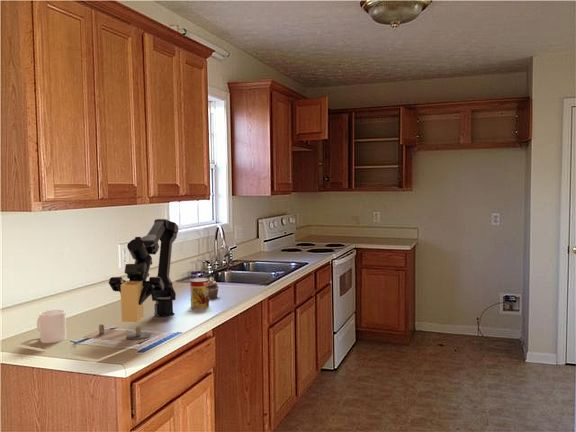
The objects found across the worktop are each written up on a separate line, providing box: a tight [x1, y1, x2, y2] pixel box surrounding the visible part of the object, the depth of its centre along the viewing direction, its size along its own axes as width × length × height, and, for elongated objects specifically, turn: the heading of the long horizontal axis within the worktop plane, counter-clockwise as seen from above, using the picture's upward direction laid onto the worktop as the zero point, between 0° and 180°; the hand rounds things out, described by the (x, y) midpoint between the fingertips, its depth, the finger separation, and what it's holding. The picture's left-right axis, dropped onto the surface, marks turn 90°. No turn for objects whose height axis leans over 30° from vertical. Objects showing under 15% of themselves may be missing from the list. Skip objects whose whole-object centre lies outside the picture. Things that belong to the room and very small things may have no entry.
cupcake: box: [202, 275, 219, 300], centre depth 244 cm, size 10×10×10 cm
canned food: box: [189, 277, 210, 310], centre depth 225 cm, size 8×8×12 cm
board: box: [82, 323, 157, 345], centre depth 181 cm, size 23×11×4 cm, turn 74°
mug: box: [36, 309, 67, 344], centre depth 178 cm, size 12×8×10 cm
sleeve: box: [120, 280, 145, 323], centre depth 178 cm, size 6×6×13 cm
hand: (130, 304), depth 177 cm, fingers closed on sleeve, 6 cm apart
